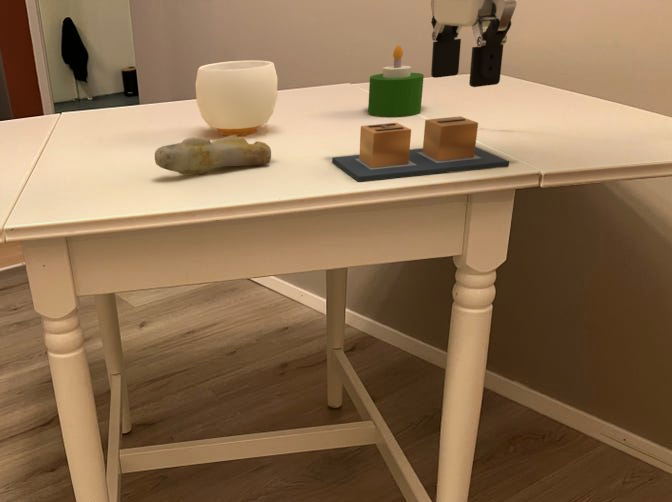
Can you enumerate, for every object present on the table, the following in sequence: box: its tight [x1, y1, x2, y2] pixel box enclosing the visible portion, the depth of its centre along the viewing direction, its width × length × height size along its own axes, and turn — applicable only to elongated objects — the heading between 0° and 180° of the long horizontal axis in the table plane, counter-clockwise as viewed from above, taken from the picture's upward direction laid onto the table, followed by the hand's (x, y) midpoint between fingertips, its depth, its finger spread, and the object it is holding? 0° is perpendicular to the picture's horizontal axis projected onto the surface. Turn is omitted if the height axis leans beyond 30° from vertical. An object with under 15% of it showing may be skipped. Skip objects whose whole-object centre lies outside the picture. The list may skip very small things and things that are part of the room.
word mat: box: [331, 146, 510, 183], centre depth 85 cm, size 18×10×1 cm, turn 97°
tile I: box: [422, 116, 479, 161], centre depth 85 cm, size 4×4×4 cm
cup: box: [195, 59, 278, 137], centre depth 107 cm, size 12×12×10 cm
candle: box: [367, 44, 425, 118], centre depth 113 cm, size 8×8×10 cm
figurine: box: [154, 135, 272, 176], centre depth 89 cm, size 5×5×15 cm
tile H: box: [358, 122, 412, 168], centre depth 84 cm, size 4×4×4 cm
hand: (463, 80), depth 81 cm, fingers open, 9 cm apart
